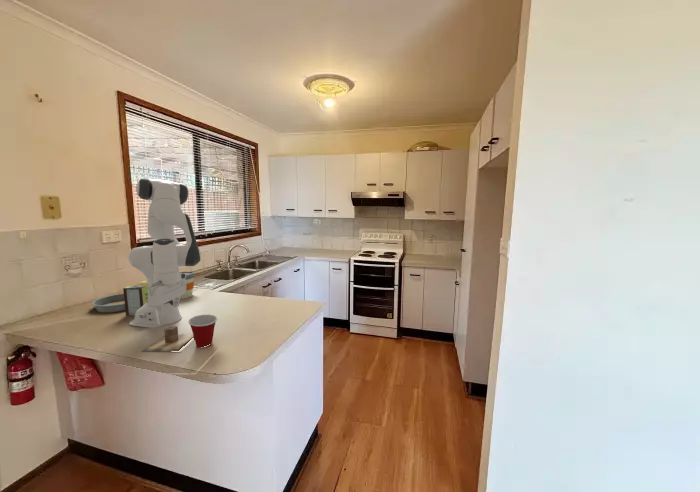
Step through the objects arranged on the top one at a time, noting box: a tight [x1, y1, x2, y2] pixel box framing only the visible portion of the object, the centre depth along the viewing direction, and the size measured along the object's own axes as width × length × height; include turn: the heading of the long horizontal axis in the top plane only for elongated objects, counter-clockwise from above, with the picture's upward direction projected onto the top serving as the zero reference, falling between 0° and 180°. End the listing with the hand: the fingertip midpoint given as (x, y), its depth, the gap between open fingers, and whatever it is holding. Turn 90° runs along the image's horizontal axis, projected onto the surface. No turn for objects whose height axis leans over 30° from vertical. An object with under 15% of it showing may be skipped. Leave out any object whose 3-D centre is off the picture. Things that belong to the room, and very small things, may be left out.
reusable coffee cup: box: [179, 271, 195, 299], centre depth 186 cm, size 13×13×15 cm
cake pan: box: [91, 292, 126, 313], centre depth 169 cm, size 25×25×4 cm
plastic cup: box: [188, 314, 218, 348], centre depth 121 cm, size 11×11×12 cm
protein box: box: [122, 280, 149, 317], centre depth 160 cm, size 10×15×16 cm
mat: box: [140, 334, 172, 353], centre depth 123 cm, size 16×15×1 cm
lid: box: [145, 325, 194, 351], centre depth 123 cm, size 13×13×7 cm
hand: (169, 310), depth 121 cm, fingers open, 8 cm apart
